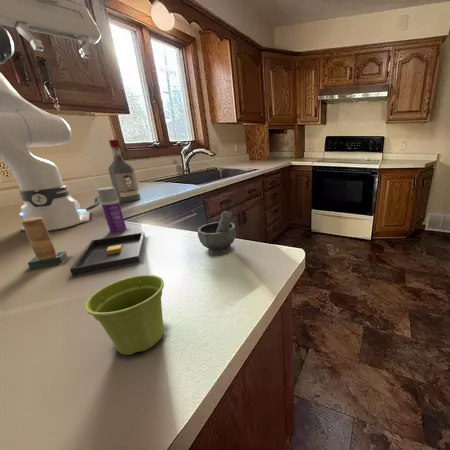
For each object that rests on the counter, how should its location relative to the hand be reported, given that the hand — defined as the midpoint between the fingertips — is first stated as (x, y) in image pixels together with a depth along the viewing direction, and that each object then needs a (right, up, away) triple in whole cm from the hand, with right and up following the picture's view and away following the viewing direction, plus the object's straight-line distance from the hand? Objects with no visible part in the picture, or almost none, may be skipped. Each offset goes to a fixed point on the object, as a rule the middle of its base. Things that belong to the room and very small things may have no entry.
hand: (64, 53), depth 60 cm
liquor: (-32, -29, +69) cm, 82 cm away
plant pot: (+33, -60, -22) cm, 72 cm away
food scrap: (+7, -49, +7) cm, 51 cm away
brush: (-6, -52, +2) cm, 52 cm away
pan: (+7, -50, +7) cm, 51 cm away
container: (-4, -45, +23) cm, 51 cm away
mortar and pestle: (+37, -50, +7) cm, 62 cm away
